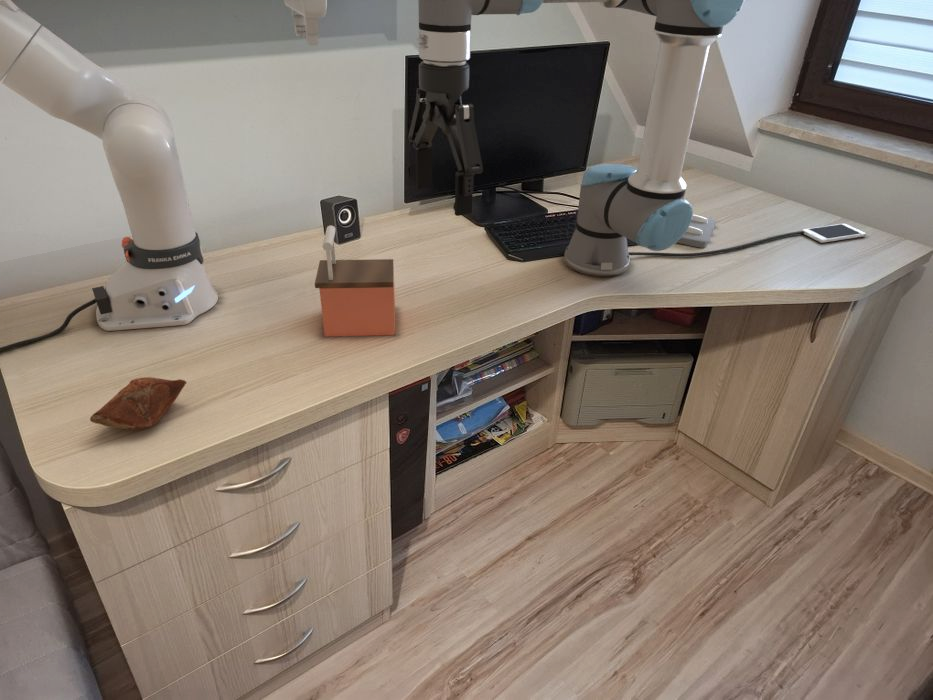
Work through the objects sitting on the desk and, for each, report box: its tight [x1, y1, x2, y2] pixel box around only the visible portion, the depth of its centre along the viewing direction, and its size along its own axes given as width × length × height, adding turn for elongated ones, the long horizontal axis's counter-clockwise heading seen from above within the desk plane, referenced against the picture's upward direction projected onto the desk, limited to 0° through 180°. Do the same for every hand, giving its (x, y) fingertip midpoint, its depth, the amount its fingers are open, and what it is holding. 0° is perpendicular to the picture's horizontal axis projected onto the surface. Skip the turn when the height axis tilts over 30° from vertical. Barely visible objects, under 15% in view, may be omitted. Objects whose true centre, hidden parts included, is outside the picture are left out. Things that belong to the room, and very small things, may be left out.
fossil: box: [89, 376, 188, 431], centre depth 97 cm, size 13×8×10 cm
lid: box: [314, 224, 394, 289], centre depth 118 cm, size 14×10×9 cm
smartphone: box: [801, 223, 866, 244], centre depth 171 cm, size 7×16×1 cm, turn 111°
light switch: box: [676, 214, 716, 249], centre depth 169 cm, size 18×3×15 cm
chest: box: [319, 264, 396, 338], centre depth 123 cm, size 13×10×10 cm
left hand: (306, 40), depth 114 cm, fingers open, 8 cm apart
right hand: (442, 200), depth 106 cm, fingers open, 13 cm apart
